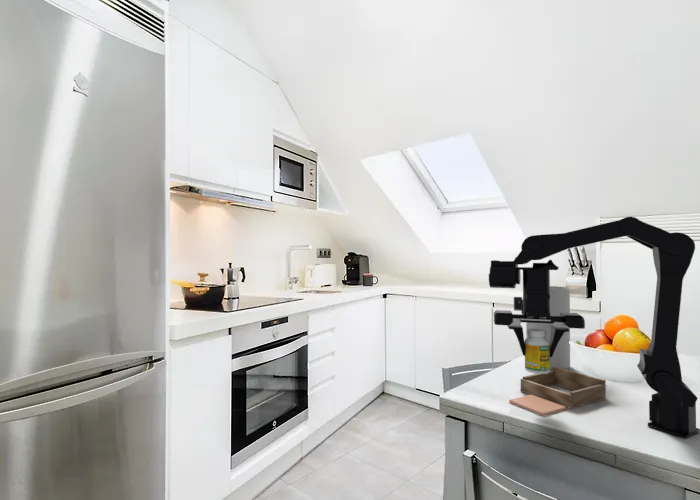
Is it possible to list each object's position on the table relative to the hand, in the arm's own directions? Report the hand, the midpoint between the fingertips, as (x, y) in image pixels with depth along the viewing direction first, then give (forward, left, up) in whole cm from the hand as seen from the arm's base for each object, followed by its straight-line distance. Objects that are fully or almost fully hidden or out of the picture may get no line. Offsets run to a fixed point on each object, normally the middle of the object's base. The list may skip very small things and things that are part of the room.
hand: (537, 356), depth 91 cm
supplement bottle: (0, 0, -4) cm, 4 cm away
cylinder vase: (+21, -33, -12) cm, 41 cm away
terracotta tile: (0, 0, -12) cm, 12 cm away
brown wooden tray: (+2, -12, -12) cm, 17 cm away
